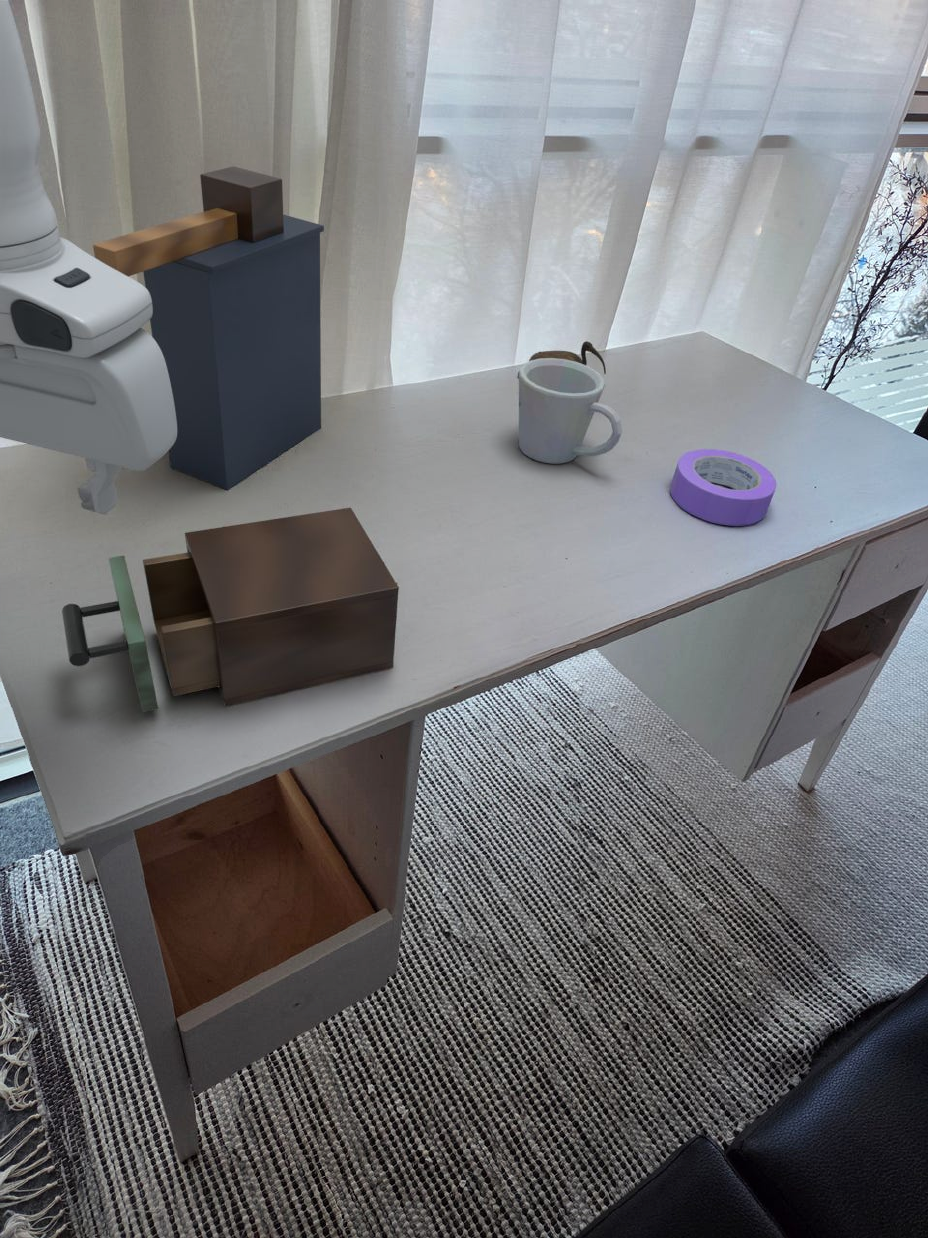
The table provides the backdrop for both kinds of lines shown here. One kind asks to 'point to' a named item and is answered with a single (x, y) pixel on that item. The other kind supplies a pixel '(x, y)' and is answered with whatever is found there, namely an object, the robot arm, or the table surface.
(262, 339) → the stand
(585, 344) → the figurine
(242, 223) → the mallet
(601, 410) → the mug
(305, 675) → the cabinet
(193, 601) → the drawer
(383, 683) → the table surface
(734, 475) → the tape roll
